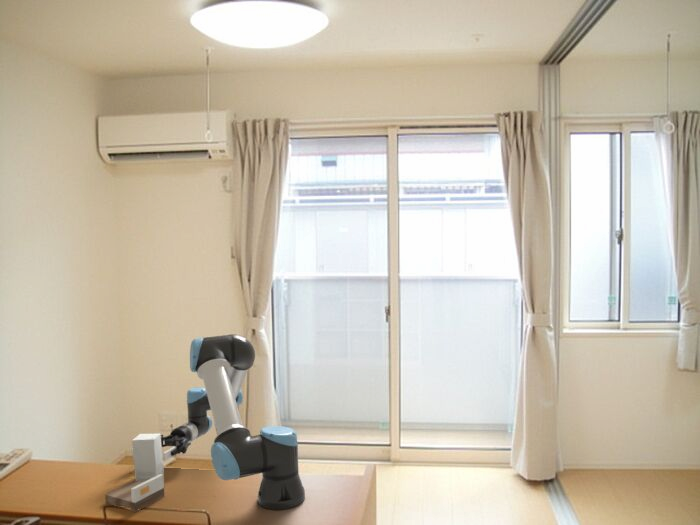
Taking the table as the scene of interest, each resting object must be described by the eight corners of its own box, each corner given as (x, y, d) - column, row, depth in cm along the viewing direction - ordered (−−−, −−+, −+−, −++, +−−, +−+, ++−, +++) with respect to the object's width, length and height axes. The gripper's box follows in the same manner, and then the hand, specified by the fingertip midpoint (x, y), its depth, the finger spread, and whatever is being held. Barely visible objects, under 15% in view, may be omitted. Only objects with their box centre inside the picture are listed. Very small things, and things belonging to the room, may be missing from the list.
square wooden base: (165, 496, 194) (163, 474, 194) (136, 512, 184) (134, 489, 184) (135, 488, 201) (134, 467, 201) (105, 503, 191) (104, 481, 191)
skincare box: (164, 475, 212) (162, 432, 211) (156, 482, 206) (154, 439, 205) (142, 474, 213) (140, 432, 212) (133, 482, 207) (131, 439, 206)
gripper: (211, 447, 226) (178, 469, 206) (157, 441, 234) (120, 462, 214) (210, 428, 225) (177, 448, 205) (156, 423, 234) (119, 441, 214)
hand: (148, 455), depth 210 cm, fingers open, 13 cm apart
